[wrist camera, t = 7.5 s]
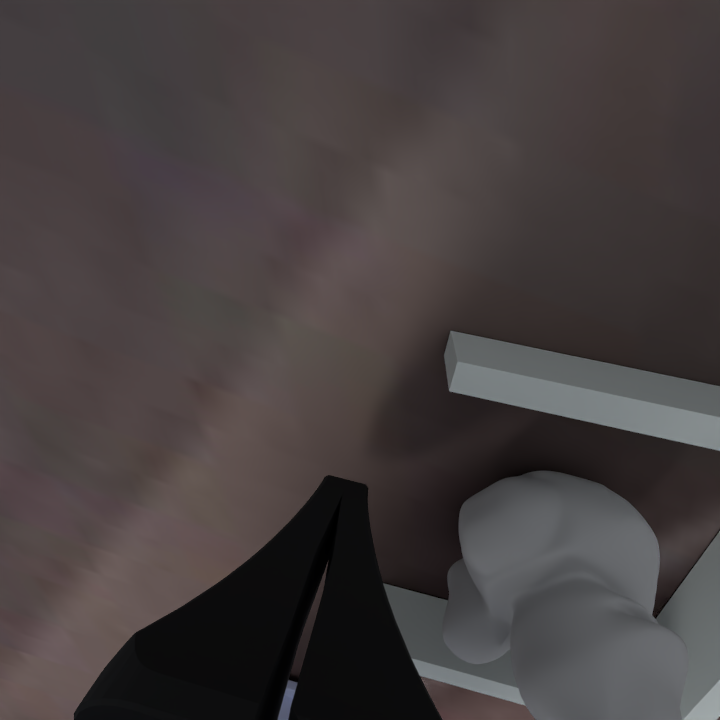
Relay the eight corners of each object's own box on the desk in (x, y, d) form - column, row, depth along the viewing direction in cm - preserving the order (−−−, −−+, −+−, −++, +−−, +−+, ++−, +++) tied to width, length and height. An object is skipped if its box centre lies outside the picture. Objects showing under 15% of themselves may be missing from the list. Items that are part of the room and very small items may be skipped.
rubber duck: (653, 520, 13) (983, 963, 5) (488, 596, 15) (552, 973, 8) (555, 408, 12) (783, 748, 4) (396, 508, 14) (365, 837, 7)
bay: (645, 667, 15) (685, 750, 13) (377, 595, 16) (369, 661, 13) (842, 411, 10) (962, 469, 8) (450, 330, 11) (457, 361, 9)
